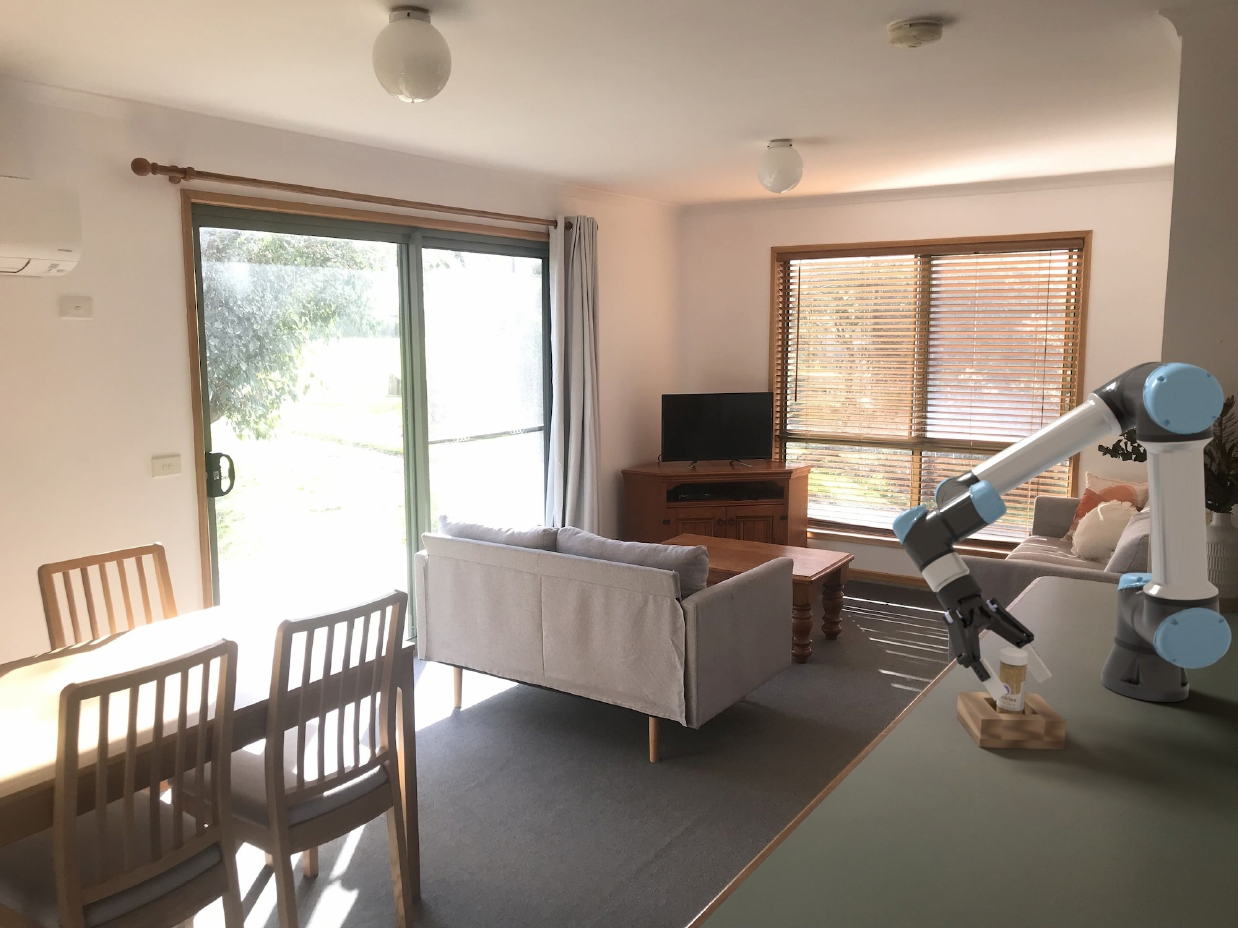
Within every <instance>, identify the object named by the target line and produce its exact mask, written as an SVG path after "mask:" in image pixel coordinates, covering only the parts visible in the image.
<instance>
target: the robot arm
mask: <svg viewBox="0 0 1238 928" xmlns="http://www.w3.org/2000/svg"><path fill="white" fill-rule="evenodd" d="M1087 395H1088V396H1087V398H1086V401H1085V402H1083V403H1081V404H1080V405H1078V406H1076V407H1075V408H1073V409H1071V410H1070V411H1068V412H1066V413H1064V414H1063V415H1061V416H1059V417H1058V418H1055V419H1054V420H1053V421H1051V422H1049V423H1047V424H1046V425H1044V426H1042V427H1040V428H1039V429H1037V430H1036V431H1034V432H1032V433H1030V434H1028V435H1027V436H1025V437H1024V438H1022V439H1020V440H1018V441H1017V442H1015V443H1013V444H1011V445H1010V446H1009V447H1006V448H1005V449H1003V450H1001V451H1000V452H997V453H995V455H993V456H991V457H990V458H988V459H986V460H984V461H983V462H981V463H979V464H977V465H976V466H974V467H972V468H970V469H969V470H968V471H965V472H963V473H962V474H960V475H958V476H956V477H948V478H945V479H943V480H942V481H940V482H939V483H938V485H937V486H936V488H935V490H934V501H935V504H936V507H935V508H933V509H931V510H929V509H928V508H926V506H925V505H915V506H913V507H911V508H909V509H906V510H905V511H903V512H902V513H901V514H899V515H898V516H897V517H896V518H895V519H894V521H893V523H892V531H893V533H894V534H895V536H896V538H897V540H898V541H899V543H900V544H901V546H902V549H904V550H905V552H906V554H907V555H908V556H909V558H910V560H911V561H912V562H913V564H914V565H915V566H916V568H917V569H918V571H919V572H920V574H921V575H922V577H923V578H924V579H925V581H926V582H927V585H928V586H929V587H930V589H931V590H932V592H934V593H936V595H935V596H936V598H937V600H938V601H939V602H940V605H941V606H942V607H943V608H944V610H945V613H944V614H942V615H941V618H942V620H943V622H944V623H945V625H946V627H947V630H948V633H949V637H950V640H951V645H952V647H953V651H954V654H955V655H954V656H955V658H956V662H957V664H958V665H960V666H963V668H965V669H969V668H970V667H971V669H972V670H973V672H974V673H975V675H976V676H977V678H978V679H979V681H980V682H981V683H982V684H983V686H984V687H985V688H986V690H987V692H989V693H990V695H991V696H992V698H993V699H994V701H995V700H998V699H999V698H1001V697H1002V696H1004V695H1005V694H1007V693H1008V691H1007V690H1006V688H1005V687H1004V685H1003V684H1002V682H1001V681H1000V679H999V675H997V673H996V671H995V670H994V669H993V668H992V666H991V664H990V662H988V660H987V658H986V657H985V658H982V657H981V647H980V637H979V630H987V631H992V632H993V633H994V634H996V635H998V636H999V637H1000V638H1002V639H1004V640H1005V641H1006V642H1008V643H1010V644H1011V645H1013V646H1014V647H1015V648H1019V649H1022V650H1025V651H1026V652H1027V653H1028V664H1027V666H1026V668H1028V670H1029V672H1030V673H1031V675H1032V676H1033V677H1034V679H1035V680H1036V682H1037V683H1038V684H1042V683H1043V682H1045V681H1046V680H1048V679H1049V678H1051V677H1053V675H1052V672H1050V670H1049V669H1048V667H1047V665H1046V664H1045V663H1044V661H1042V659H1041V656H1040V655H1039V654H1038V652H1037V651H1036V649H1035V648H1034V646H1033V645H1032V642H1033V641H1035V635H1034V633H1033V632H1032V631H1031V630H1029V629H1028V627H1026V626H1025V625H1024V624H1023V623H1021V622H1020V620H1018V619H1017V618H1016V617H1014V615H1012V614H1011V613H1010V612H1009V611H1008V610H1006V608H1004V607H1003V605H1002V604H1001V603H1000V602H999V601H998V600H997V598H996V597H994V596H993V597H991V598H990V599H988V600H987V601H985V600H984V599H983V598H982V593H983V587H982V586H981V585H980V583H979V582H978V580H977V579H976V577H975V576H974V575H973V574H970V568H969V567H968V566H967V565H966V563H965V562H964V560H963V559H962V558H961V556H960V555H959V553H958V552H957V550H956V549H955V548H954V546H956V544H959V543H960V542H962V541H963V540H965V539H968V537H970V536H972V535H974V534H976V533H977V532H979V531H981V530H983V529H984V528H987V527H988V526H990V525H992V524H994V523H996V521H998V520H999V519H1001V518H1002V517H1004V515H1006V514H1007V511H1008V508H1007V505H1006V504H1005V502H1004V500H1003V498H1002V496H1004V495H1006V494H1008V493H1009V492H1011V491H1013V490H1015V489H1017V488H1019V487H1020V486H1022V485H1023V484H1026V483H1027V482H1029V481H1031V480H1032V479H1035V477H1037V476H1039V475H1042V474H1043V473H1045V472H1046V471H1048V470H1050V469H1051V468H1053V467H1055V466H1057V465H1059V464H1060V463H1063V462H1064V461H1066V460H1067V459H1069V458H1072V457H1073V456H1075V455H1077V454H1078V453H1080V452H1081V451H1083V450H1085V449H1087V448H1088V447H1090V446H1093V445H1094V444H1096V443H1098V442H1099V441H1101V440H1102V439H1105V438H1106V437H1107V436H1108V437H1109V436H1110V435H1114V436H1120V435H1123V434H1124V433H1126V432H1128V431H1130V430H1132V429H1134V428H1135V432H1136V433H1135V434H1136V435H1135V436H1136V443H1138V444H1139V445H1140V446H1142V447H1143V448H1144V449H1145V450H1146V460H1147V461H1146V464H1147V483H1148V490H1147V491H1148V507H1149V508H1148V509H1149V510H1148V511H1149V514H1148V515H1149V531H1150V532H1149V533H1150V538H1149V539H1150V557H1151V572H1127V573H1124V574H1122V575H1121V576H1120V578H1119V583H1118V588H1117V590H1116V591H1117V599H1116V600H1117V602H1116V612H1115V614H1116V615H1115V627H1114V637H1113V639H1114V640H1113V645H1112V648H1111V650H1110V652H1109V654H1108V655H1107V658H1106V660H1105V663H1104V664H1103V667H1102V668H1101V670H1100V671H1101V675H1100V683H1101V684H1102V685H1103V686H1104V687H1106V688H1107V689H1109V690H1110V691H1112V692H1115V693H1117V694H1120V695H1123V696H1126V697H1130V698H1133V699H1138V700H1142V701H1149V702H1154V703H1155V702H1156V703H1160V702H1161V703H1174V702H1175V703H1177V702H1181V701H1184V700H1186V699H1188V697H1189V692H1190V683H1189V679H1188V676H1187V672H1186V669H1193V670H1194V669H1202V668H1206V667H1208V666H1211V665H1213V664H1215V663H1217V661H1219V659H1221V658H1223V657H1224V655H1225V654H1226V653H1227V652H1228V650H1229V648H1230V646H1231V642H1232V632H1231V630H1232V629H1231V627H1230V625H1229V624H1228V622H1227V620H1226V619H1225V618H1224V616H1223V615H1222V614H1221V613H1220V599H1219V589H1218V588H1217V587H1216V586H1215V585H1214V584H1213V583H1212V582H1210V581H1209V578H1208V577H1209V575H1208V574H1209V573H1208V551H1207V549H1208V548H1207V522H1206V519H1207V518H1206V517H1207V516H1206V496H1205V494H1206V493H1205V467H1204V465H1205V464H1204V460H1205V459H1204V450H1205V449H1204V448H1205V447H1206V446H1207V445H1208V444H1209V443H1210V442H1212V441H1213V439H1214V422H1216V420H1217V419H1218V418H1219V417H1220V416H1221V413H1222V411H1223V407H1224V404H1225V403H1224V400H1225V397H1224V392H1223V388H1222V386H1221V384H1220V383H1219V381H1218V379H1217V378H1216V377H1215V376H1214V375H1213V374H1212V373H1210V372H1209V371H1208V370H1206V369H1204V368H1202V367H1200V366H1198V365H1194V364H1191V363H1186V362H1173V361H1171V362H1164V361H1148V362H1144V363H1140V364H1137V365H1134V366H1133V367H1131V368H1129V369H1127V370H1125V371H1124V372H1122V373H1121V374H1119V375H1117V376H1116V377H1114V378H1113V379H1110V380H1109V381H1108V382H1106V383H1105V384H1103V385H1101V386H1100V387H1097V388H1096V389H1094V390H1093V391H1091V392H1090V393H1088V394H1087ZM981 658H982V659H981Z"/></svg>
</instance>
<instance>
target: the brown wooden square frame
mask: <svg viewBox="0 0 1238 928" xmlns="http://www.w3.org/2000/svg"><path fill="white" fill-rule="evenodd" d="M956 705H957V706H956V719H957V721H958V722H959V723H960V724H961V725H962V727H963V728H964V730H965V731H966V732H967V734H969V736H970V737H971V738H972V740H973V741H974V742H975V743H976V745H977V746H978V747H979V748H996V749H998V748H999V749H1000V748H1001V749H1029V750H1030V749H1032V750H1033V749H1037V750H1064V749H1065V744H1066V742H1065V741H1066V731H1067V730H1066V729H1067V728H1066V727H1067V720H1066V719H1065V718H1064V717H1062V715H1060V713H1058V712H1057V711H1056V710H1055V709H1054V708H1053V707H1052V706H1051V705H1050V704H1049V703H1048V702H1047V701H1045V700H1044V698H1042V697H1041V696H1040V695H1039V694H1038V693H1036V692H1035V693H1029V692H1028V693H1027V692H1025V696H1024V709H1023V714H997V713H996V710H997V700H995V701H994V699H993V698H992V696H991V695H990V693H989V692H988V691H958V693H957V704H956Z"/></svg>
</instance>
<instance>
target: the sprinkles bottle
mask: <svg viewBox="0 0 1238 928" xmlns="http://www.w3.org/2000/svg"><path fill="white" fill-rule="evenodd" d="M998 655H999V656H998V657H999V658H998V659H999V663H1000V664H999V671H998V678H999V679H1000V681H1001V682H1002V684H1003V685H1004V687H1005V688H1006V690H1007V691H1008V693H1007V694H1005V695H1004V696H1002V697H1001V698H999V699H998V700H997V710H996V713H997V714H1023V709H1024V696H1025V693H1026V684H1027V682H1026V681H1027V680H1026V676H1027V664H1028V653H1027V652H1026V651H1025V650H1022V649H1019V648H1017V647H1015V646H1014V647H1013V646H1007V647H1006V646H1005V647H1002V648H1000V650H999V654H998Z"/></svg>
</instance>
